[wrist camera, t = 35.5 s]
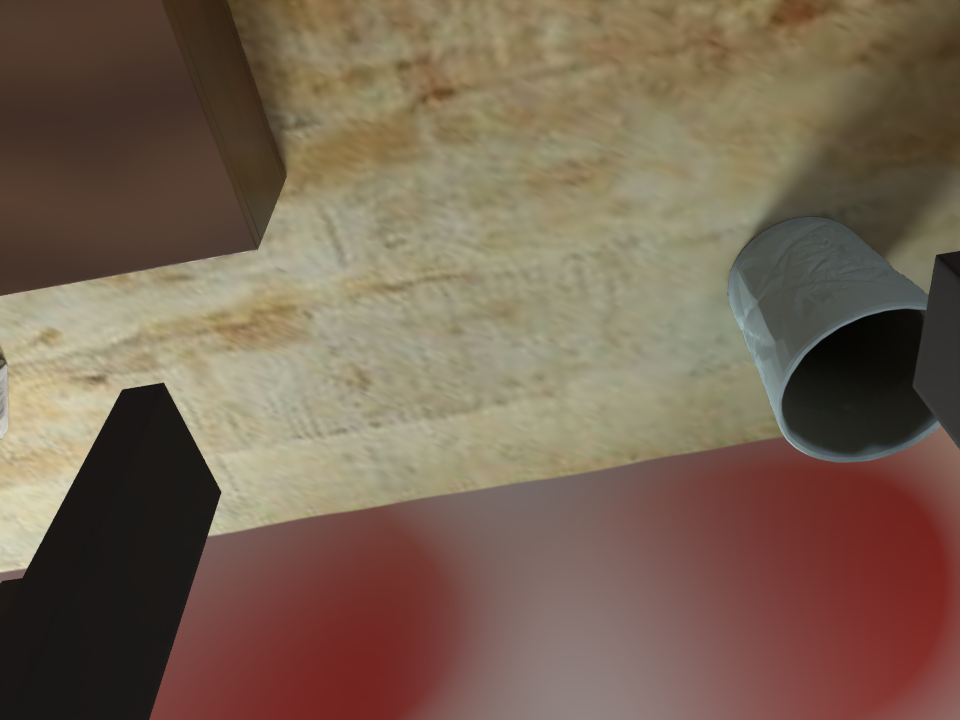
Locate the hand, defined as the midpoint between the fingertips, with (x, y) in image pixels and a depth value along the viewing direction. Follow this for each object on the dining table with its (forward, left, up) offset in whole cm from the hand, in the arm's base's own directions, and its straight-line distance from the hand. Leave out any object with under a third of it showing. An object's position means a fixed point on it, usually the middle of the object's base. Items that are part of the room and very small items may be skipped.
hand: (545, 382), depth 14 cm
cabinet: (+18, +9, -33) cm, 38 cm away
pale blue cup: (-24, +10, -33) cm, 42 cm away
